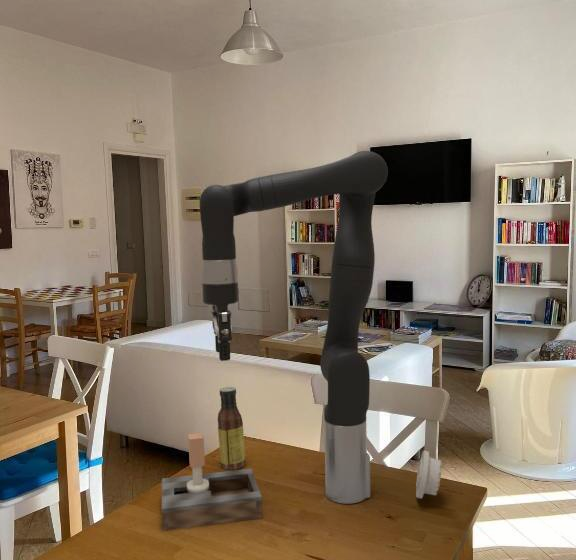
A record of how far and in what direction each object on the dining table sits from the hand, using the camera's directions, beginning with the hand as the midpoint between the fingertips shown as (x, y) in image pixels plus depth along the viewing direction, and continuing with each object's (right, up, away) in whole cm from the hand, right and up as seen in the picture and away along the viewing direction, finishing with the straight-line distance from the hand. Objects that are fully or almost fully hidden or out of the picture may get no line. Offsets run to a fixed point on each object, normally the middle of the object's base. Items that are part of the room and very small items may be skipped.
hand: (222, 355), depth 122 cm
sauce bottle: (0, -31, +20) cm, 37 cm away
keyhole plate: (-3, -32, -1) cm, 32 cm away
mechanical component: (+44, -31, +2) cm, 54 cm away
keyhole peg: (-5, -28, -2) cm, 28 cm away
